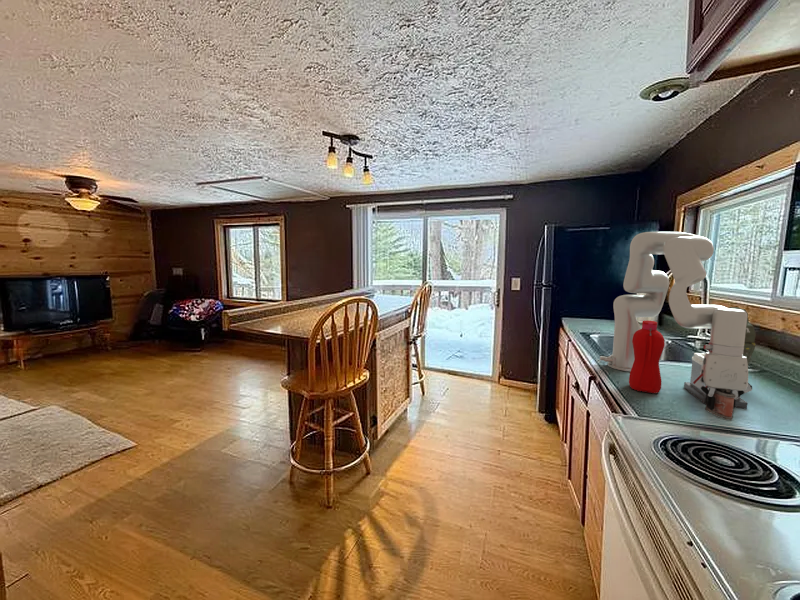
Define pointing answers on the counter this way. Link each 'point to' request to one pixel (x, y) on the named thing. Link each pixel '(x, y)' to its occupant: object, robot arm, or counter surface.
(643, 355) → the water bottle
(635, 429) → the counter surface
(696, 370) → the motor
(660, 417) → the counter surface
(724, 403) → the lighter
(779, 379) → the counter surface
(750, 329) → the mechanical leg
